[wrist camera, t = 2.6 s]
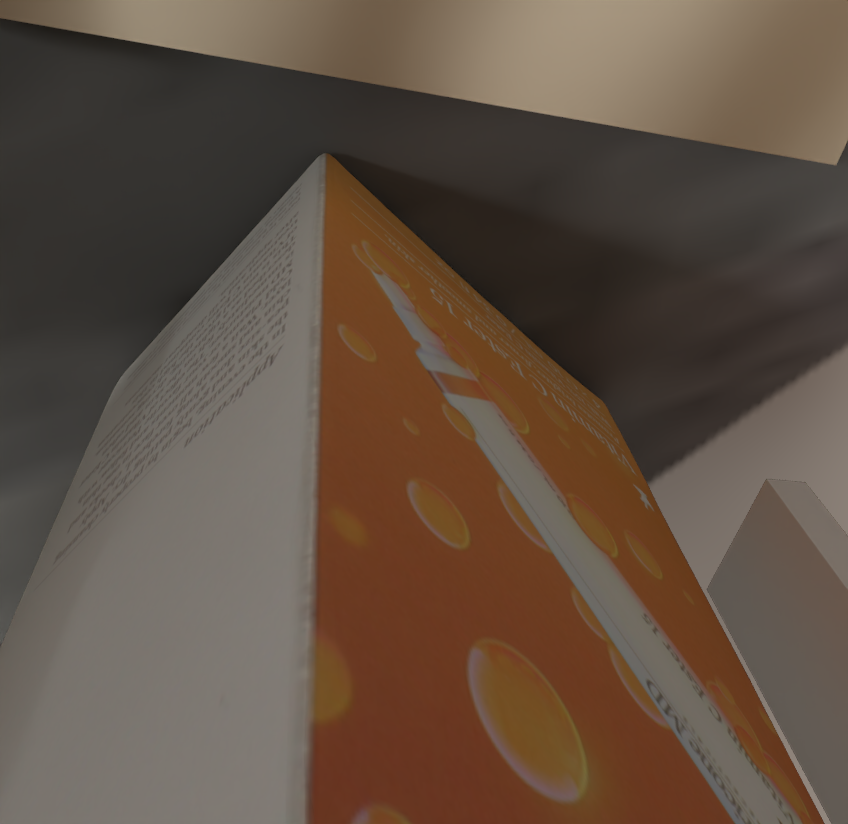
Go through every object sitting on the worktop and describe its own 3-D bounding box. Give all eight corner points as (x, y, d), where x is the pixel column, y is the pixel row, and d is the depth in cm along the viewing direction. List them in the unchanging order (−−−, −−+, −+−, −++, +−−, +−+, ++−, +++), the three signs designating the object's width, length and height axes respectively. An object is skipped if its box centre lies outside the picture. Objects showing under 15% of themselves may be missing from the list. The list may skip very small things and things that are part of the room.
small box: (609, 398, 17) (1107, 1316, 6) (405, 563, 19) (502, 1452, 8) (322, 132, 13) (287, 1279, 2) (108, 374, 15) (-419, 1549, 4)
